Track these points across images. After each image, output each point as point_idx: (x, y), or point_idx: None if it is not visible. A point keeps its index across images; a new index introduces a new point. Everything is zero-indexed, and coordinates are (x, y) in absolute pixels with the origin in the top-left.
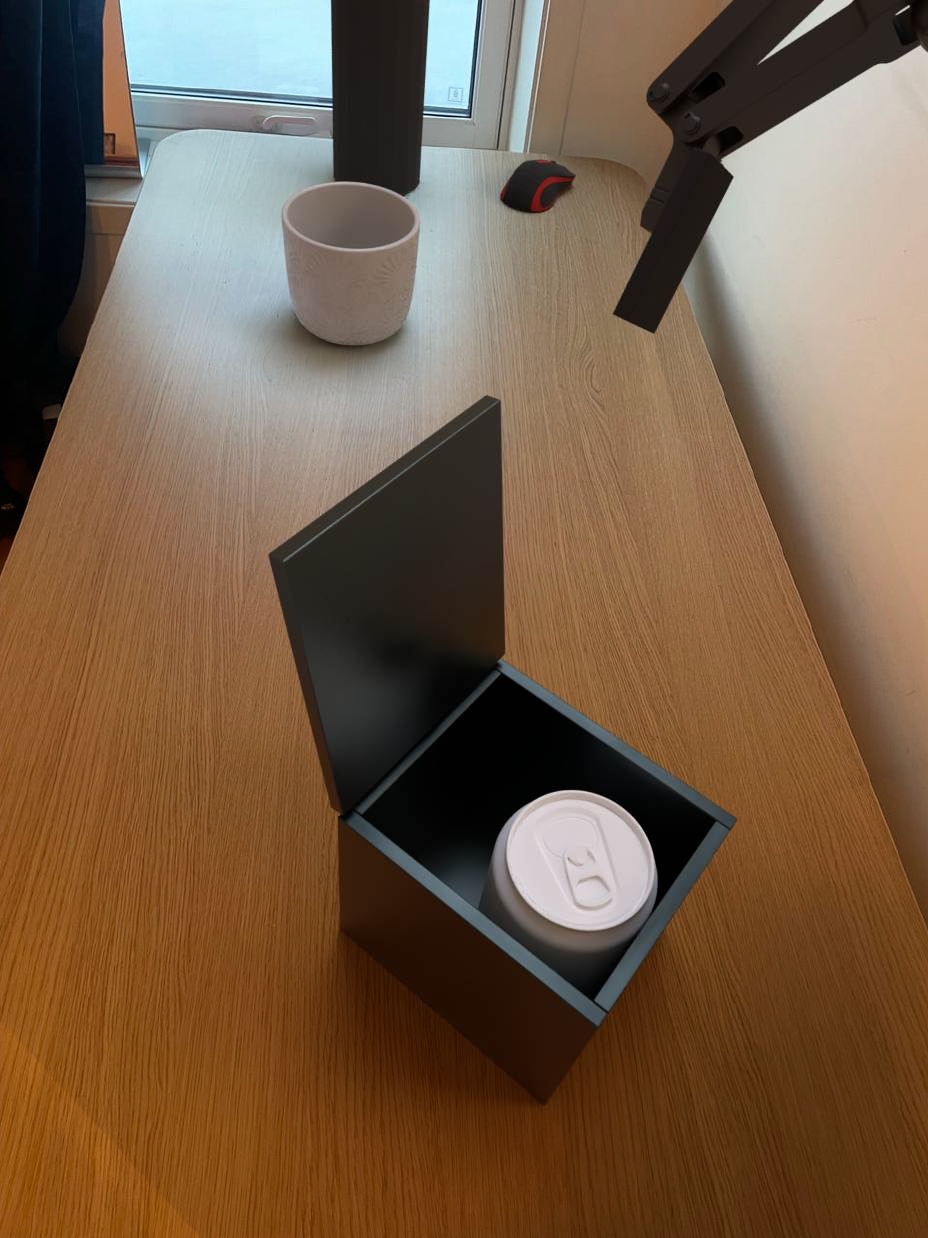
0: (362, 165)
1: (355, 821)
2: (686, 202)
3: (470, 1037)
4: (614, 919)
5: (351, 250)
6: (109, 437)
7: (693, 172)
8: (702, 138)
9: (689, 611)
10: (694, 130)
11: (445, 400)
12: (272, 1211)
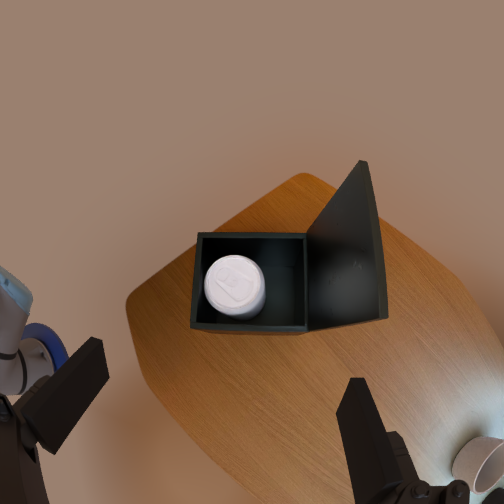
0: (497, 496)
1: (302, 235)
2: (375, 448)
3: None
4: (211, 271)
5: (487, 457)
6: (486, 343)
7: (388, 467)
8: (402, 492)
9: (273, 459)
10: (413, 489)
11: (419, 465)
12: (260, 202)
